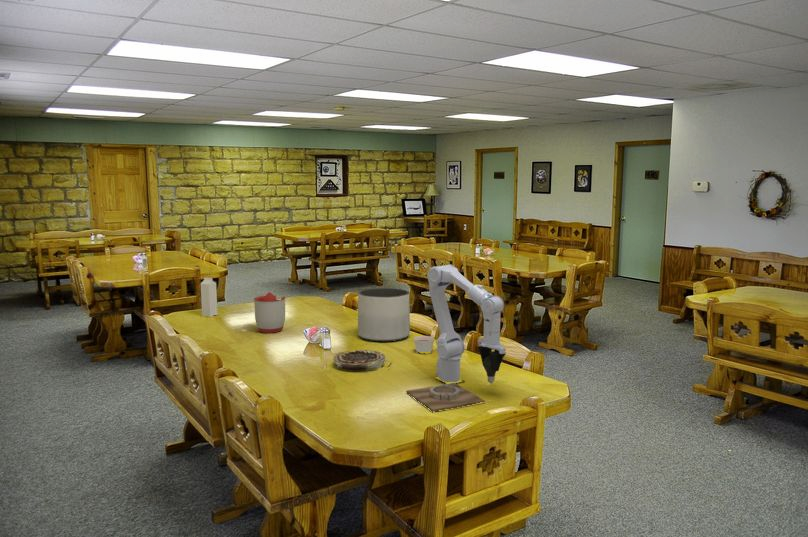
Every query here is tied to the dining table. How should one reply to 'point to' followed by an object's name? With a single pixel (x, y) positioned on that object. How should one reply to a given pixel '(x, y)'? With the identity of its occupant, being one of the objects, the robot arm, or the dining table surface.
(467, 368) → the dining table surface
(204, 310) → the milk
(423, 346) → the candle
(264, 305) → the citrus juicer
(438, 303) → the robot arm
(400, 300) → the planter
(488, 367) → the light bulb
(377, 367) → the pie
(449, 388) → the socket ring
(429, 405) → the socket board
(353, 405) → the dining table surface
